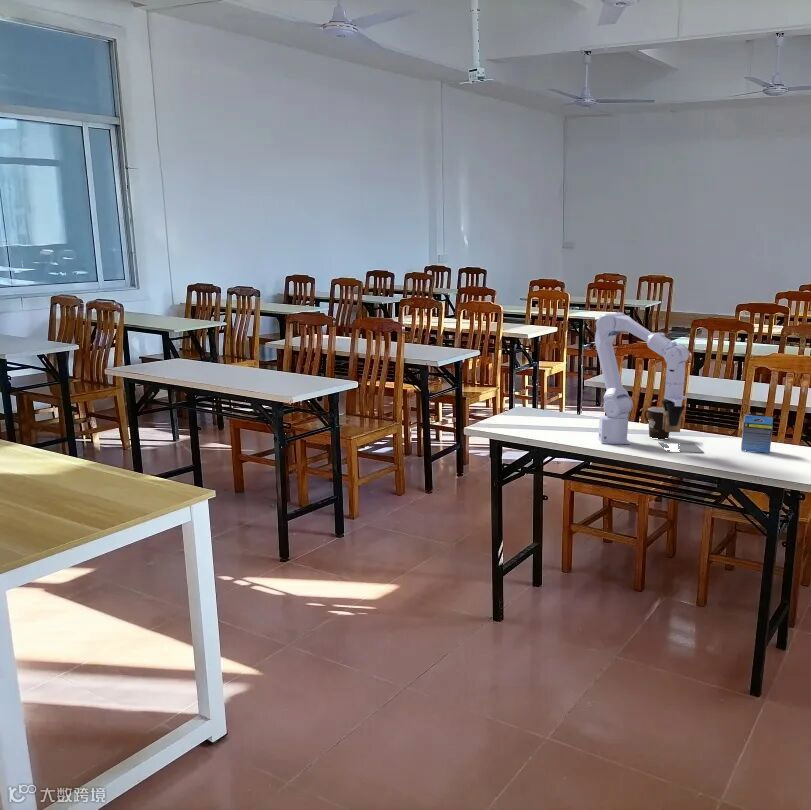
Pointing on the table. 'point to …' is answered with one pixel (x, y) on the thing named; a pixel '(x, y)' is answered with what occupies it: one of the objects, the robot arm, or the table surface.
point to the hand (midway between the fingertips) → (671, 424)
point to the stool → (667, 425)
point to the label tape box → (757, 434)
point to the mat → (684, 447)
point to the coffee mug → (656, 423)
